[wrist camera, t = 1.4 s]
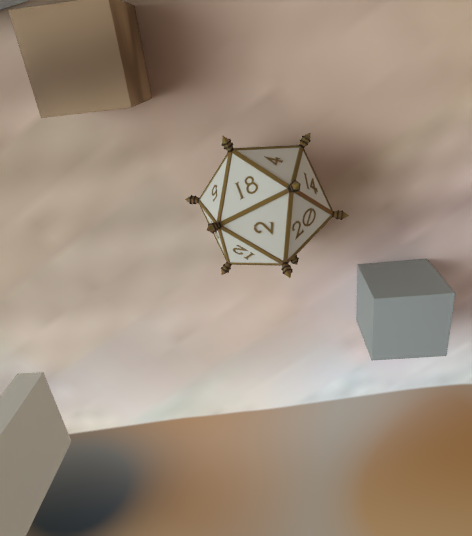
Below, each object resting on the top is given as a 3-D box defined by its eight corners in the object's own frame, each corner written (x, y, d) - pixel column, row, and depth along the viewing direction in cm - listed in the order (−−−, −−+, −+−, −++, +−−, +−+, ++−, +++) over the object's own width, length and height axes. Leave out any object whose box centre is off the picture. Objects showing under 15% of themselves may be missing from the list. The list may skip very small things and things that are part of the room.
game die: (266, 147, 31) (334, 76, 22) (315, 250, 32) (403, 226, 22) (157, 192, 29) (178, 134, 19) (211, 304, 29) (259, 302, 19)
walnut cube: (52, 17, 25) (8, 10, 20) (134, 5, 24) (107, -5, 20) (76, 107, 27) (41, 117, 23) (152, 98, 27) (131, 107, 22)
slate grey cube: (357, 263, 31) (374, 298, 27) (426, 258, 31) (455, 292, 26) (356, 319, 34) (371, 360, 29) (420, 315, 33) (446, 355, 29)
